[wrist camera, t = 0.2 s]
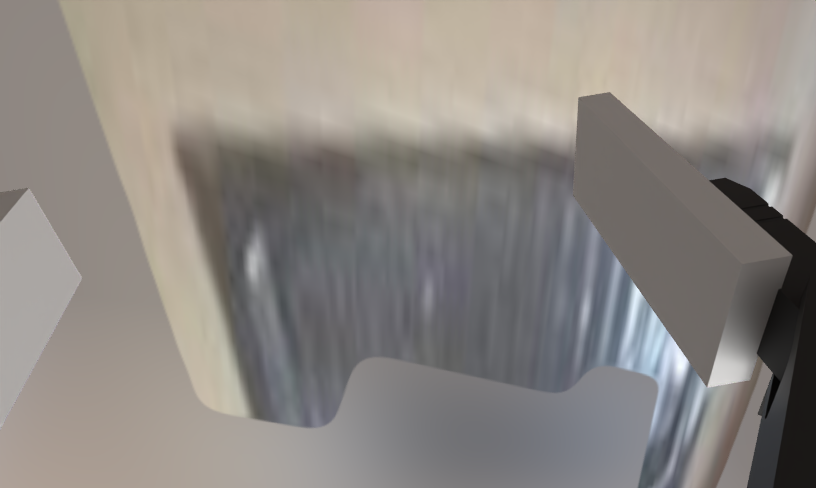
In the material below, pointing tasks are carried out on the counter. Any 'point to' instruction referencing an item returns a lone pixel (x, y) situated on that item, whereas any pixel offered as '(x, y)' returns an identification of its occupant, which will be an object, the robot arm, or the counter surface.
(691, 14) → the counter surface
